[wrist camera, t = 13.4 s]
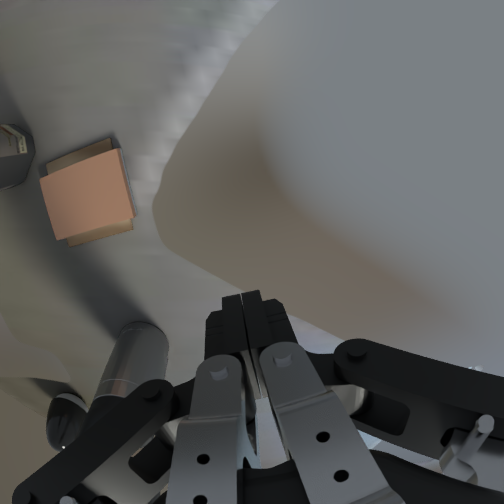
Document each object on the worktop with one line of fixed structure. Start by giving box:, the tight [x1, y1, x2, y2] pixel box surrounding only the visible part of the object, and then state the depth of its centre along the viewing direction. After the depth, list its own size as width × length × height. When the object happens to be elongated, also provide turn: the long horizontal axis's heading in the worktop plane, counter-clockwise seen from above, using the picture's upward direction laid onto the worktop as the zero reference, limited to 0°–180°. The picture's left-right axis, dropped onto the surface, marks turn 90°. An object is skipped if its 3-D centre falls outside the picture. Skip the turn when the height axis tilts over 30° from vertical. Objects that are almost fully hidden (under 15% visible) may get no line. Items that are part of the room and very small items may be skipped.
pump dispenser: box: [46, 393, 89, 452], centre depth 45 cm, size 10×10×15 cm
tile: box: [39, 148, 138, 240], centre depth 37 cm, size 10×2×14 cm
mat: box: [46, 138, 133, 247], centre depth 38 cm, size 14×12×1 cm
